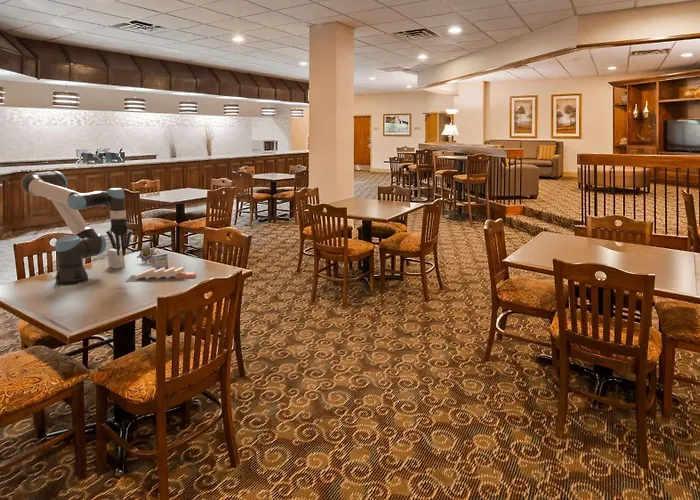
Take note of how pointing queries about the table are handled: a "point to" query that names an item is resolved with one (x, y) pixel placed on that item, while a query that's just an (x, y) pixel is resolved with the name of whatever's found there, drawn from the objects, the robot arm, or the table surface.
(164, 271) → the domino
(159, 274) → the domino
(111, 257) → the small box
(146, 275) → the domino
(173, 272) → the domino
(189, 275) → the terracotta domino
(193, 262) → the table surface
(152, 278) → the domino mat
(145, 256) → the passion flower
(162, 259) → the medicine box
